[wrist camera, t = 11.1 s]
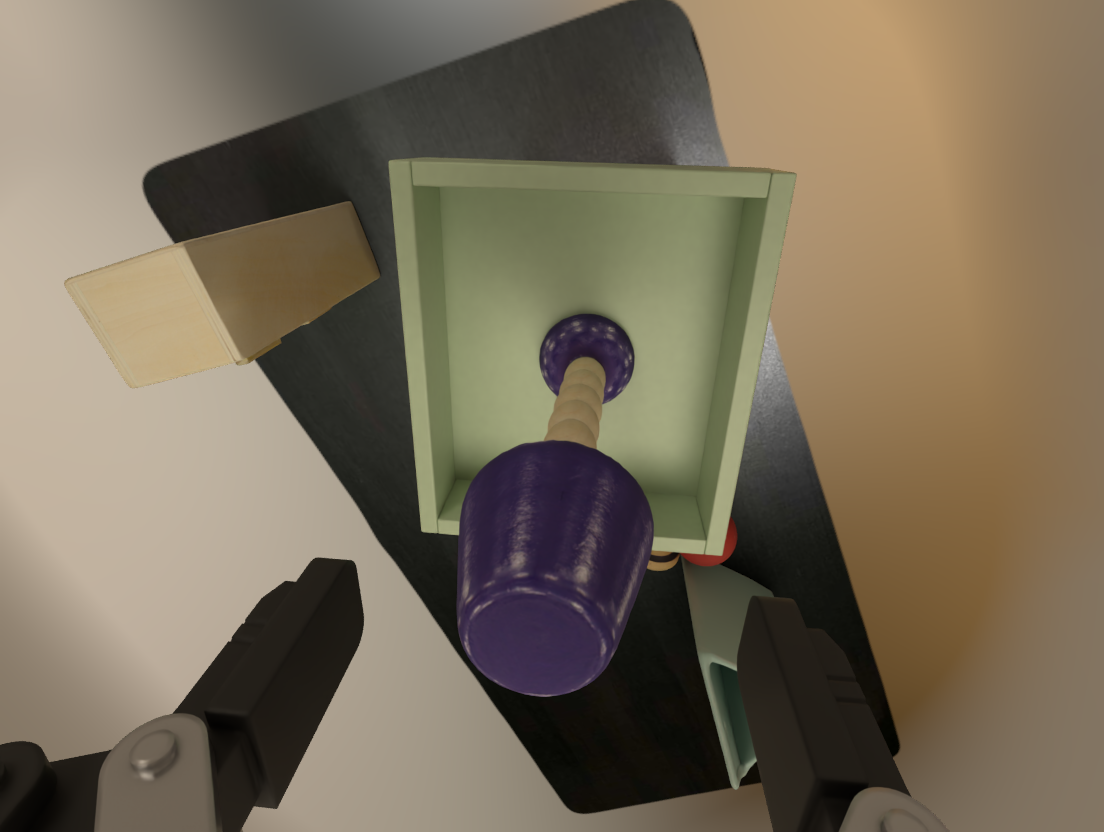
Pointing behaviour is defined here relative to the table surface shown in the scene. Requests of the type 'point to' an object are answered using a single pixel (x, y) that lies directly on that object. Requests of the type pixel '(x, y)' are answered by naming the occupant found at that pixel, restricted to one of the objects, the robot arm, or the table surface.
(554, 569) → the toy lamp
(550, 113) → the table surface
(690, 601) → the planter
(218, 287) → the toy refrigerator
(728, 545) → the kendama
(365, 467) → the table surface
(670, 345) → the box
